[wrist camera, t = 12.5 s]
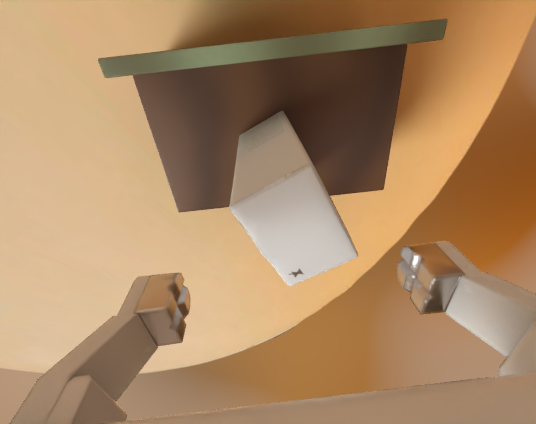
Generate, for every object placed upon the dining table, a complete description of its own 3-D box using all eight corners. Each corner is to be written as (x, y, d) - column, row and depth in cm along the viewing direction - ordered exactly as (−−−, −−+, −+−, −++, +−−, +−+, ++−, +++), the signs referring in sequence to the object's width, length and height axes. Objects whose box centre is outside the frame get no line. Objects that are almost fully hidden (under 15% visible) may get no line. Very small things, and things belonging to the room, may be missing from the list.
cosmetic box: (313, 168, 23) (362, 259, 13) (272, 189, 24) (287, 291, 14) (282, 106, 20) (314, 162, 10) (236, 133, 21) (224, 210, 11)
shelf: (195, 174, 32) (167, 238, 22) (163, 55, 26) (96, 58, 15) (352, 157, 32) (404, 212, 21) (363, 32, 25) (448, 18, 14)
